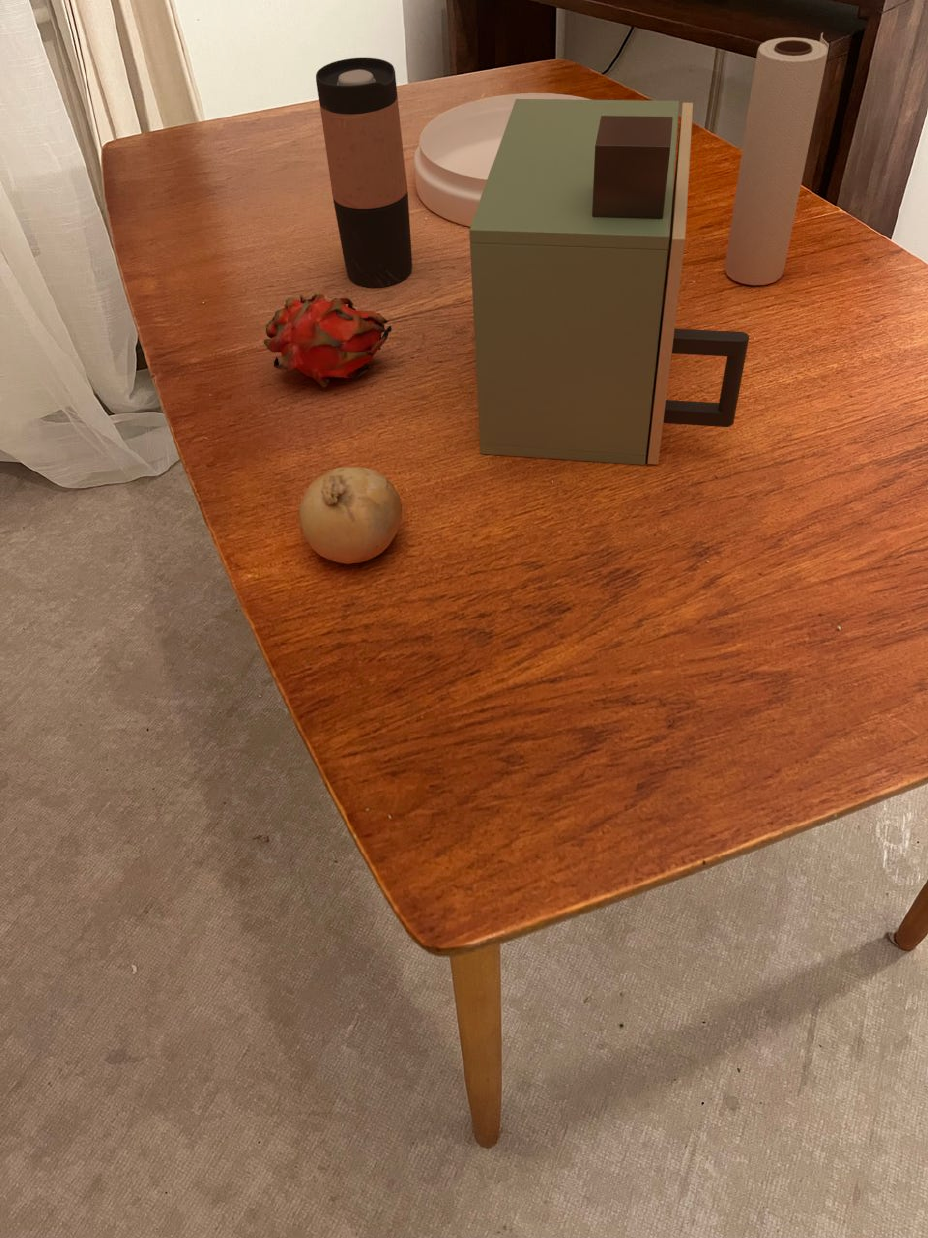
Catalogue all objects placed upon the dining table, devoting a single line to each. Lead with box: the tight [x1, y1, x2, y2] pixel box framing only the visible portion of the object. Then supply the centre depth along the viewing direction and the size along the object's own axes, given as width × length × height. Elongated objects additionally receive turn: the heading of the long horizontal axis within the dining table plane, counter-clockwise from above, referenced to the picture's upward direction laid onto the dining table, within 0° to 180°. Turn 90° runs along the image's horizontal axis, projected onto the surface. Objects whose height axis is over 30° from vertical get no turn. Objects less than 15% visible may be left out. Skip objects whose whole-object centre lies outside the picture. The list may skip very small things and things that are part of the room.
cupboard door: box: [647, 102, 750, 465], centre depth 82 cm, size 7×24×20 cm, turn 170°
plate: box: [413, 92, 593, 228], centre depth 117 cm, size 27×27×6 cm
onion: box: [298, 466, 403, 565], centre depth 75 cm, size 8×8×7 cm
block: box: [592, 116, 673, 219], centre depth 69 cm, size 5×5×5 cm
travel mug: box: [315, 57, 413, 288], centre depth 99 cm, size 8×8×20 cm
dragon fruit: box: [262, 293, 393, 388], centre depth 91 cm, size 8×8×12 cm
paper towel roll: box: [723, 32, 830, 286], centre depth 94 cm, size 7×6×21 cm
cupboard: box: [468, 99, 681, 466], centre depth 84 cm, size 14×24×20 cm, turn 170°
